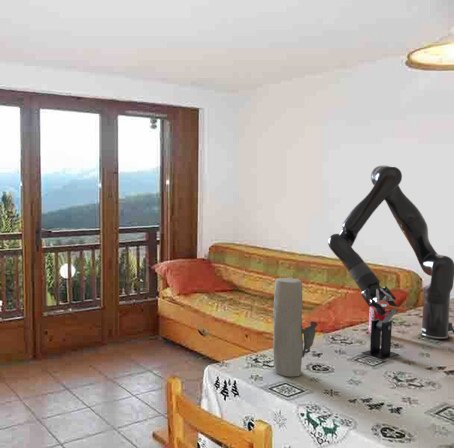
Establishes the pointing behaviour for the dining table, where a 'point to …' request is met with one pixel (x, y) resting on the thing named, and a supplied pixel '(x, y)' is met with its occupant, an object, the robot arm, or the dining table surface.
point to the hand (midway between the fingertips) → (390, 313)
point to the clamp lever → (389, 315)
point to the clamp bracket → (385, 341)
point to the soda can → (376, 315)
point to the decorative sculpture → (289, 327)
